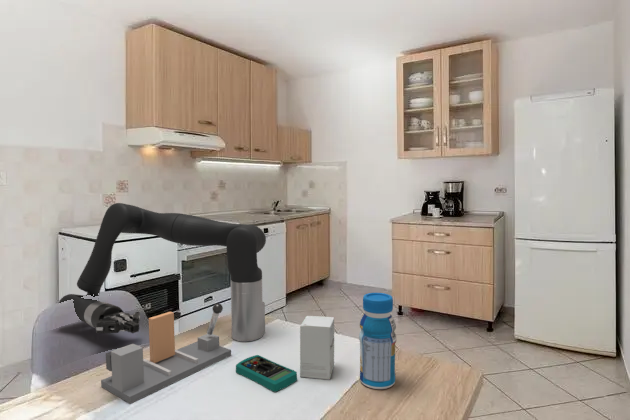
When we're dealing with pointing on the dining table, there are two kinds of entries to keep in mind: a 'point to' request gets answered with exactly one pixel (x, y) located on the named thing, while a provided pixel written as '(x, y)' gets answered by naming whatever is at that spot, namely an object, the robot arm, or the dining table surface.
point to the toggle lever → (214, 318)
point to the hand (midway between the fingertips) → (136, 328)
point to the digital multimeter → (266, 372)
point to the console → (159, 367)
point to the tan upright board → (161, 337)
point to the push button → (108, 361)
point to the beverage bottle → (377, 342)
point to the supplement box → (317, 347)
